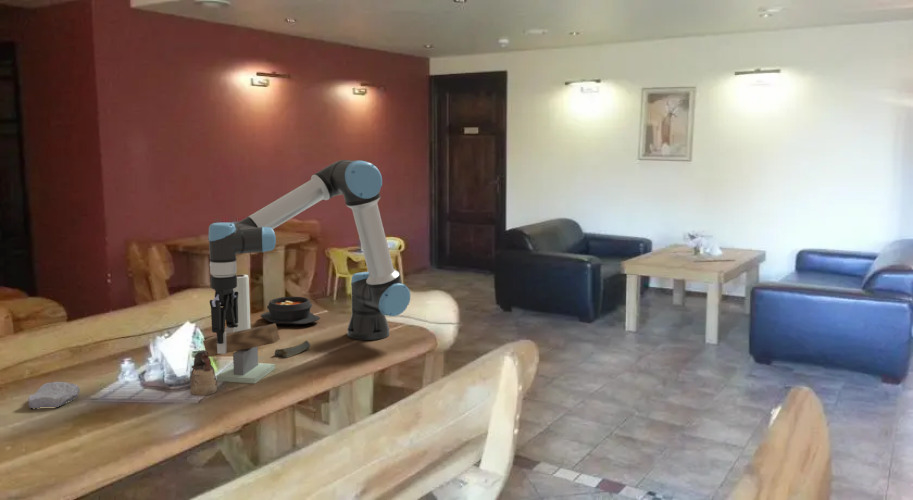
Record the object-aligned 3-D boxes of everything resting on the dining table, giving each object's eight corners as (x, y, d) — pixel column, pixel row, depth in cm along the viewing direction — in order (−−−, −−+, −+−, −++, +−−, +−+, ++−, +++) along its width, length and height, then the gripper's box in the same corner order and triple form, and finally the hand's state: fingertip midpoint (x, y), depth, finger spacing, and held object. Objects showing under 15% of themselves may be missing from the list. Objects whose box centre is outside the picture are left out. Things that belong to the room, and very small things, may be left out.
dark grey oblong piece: (282, 359, 239) (281, 348, 238) (274, 356, 242) (273, 345, 242) (316, 352, 248) (315, 341, 247) (307, 349, 251) (307, 339, 251)
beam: (280, 339, 222) (275, 323, 221) (273, 343, 218) (269, 327, 217) (214, 352, 226) (210, 337, 226) (207, 357, 222) (202, 341, 222)
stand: (274, 368, 229) (274, 343, 228) (254, 383, 215) (253, 357, 214) (238, 366, 231) (237, 341, 230) (216, 380, 218) (215, 354, 216)
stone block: (82, 399, 207) (44, 394, 206) (84, 383, 206) (46, 377, 205) (64, 417, 195) (24, 411, 194) (66, 400, 195) (26, 394, 193)
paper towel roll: (254, 332, 270) (252, 274, 266) (241, 336, 265) (238, 277, 261) (240, 329, 274) (238, 272, 270) (227, 333, 268) (225, 275, 265)
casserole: (330, 321, 287) (330, 300, 286) (296, 332, 271) (296, 309, 270) (284, 312, 300) (283, 292, 299) (249, 322, 284) (248, 301, 283)
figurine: (210, 385, 214) (208, 345, 212) (222, 391, 209) (220, 350, 207) (186, 391, 209) (184, 350, 207) (197, 397, 204) (195, 355, 202)
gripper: (225, 269, 229) (228, 342, 232) (196, 279, 212) (199, 358, 215) (248, 270, 227) (251, 343, 231) (220, 281, 210) (223, 360, 214)
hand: (226, 350), depth 223 cm, fingers closed on beam, 4 cm apart
